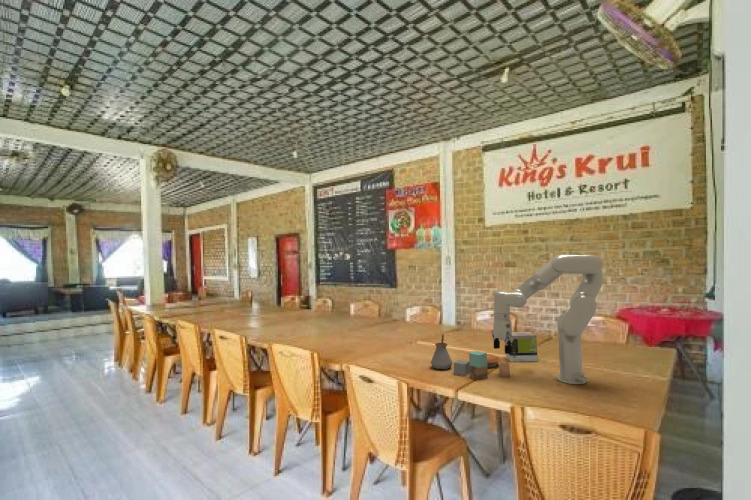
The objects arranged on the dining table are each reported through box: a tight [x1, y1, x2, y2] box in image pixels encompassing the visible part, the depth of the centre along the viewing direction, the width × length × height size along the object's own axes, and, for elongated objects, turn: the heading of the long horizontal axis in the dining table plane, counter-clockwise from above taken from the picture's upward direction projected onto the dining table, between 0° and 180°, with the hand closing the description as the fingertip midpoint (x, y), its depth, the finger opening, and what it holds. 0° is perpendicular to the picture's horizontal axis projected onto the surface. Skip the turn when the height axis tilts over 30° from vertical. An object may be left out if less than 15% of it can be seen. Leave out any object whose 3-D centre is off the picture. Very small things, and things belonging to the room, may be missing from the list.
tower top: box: [468, 350, 488, 368], centre depth 185 cm, size 6×6×6 cm
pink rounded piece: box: [498, 361, 511, 379], centre depth 186 cm, size 5×5×6 cm
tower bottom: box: [469, 366, 489, 381], centre depth 185 cm, size 6×6×6 cm
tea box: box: [504, 331, 539, 363], centre depth 214 cm, size 15×10×15 cm
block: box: [453, 359, 470, 377], centre depth 191 cm, size 6×6×6 cm
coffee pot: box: [430, 334, 453, 370], centre depth 207 cm, size 21×12×15 cm, turn 165°
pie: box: [487, 353, 501, 369], centre depth 206 cm, size 15×16×5 cm
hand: (502, 350), depth 187 cm, fingers open, 9 cm apart
